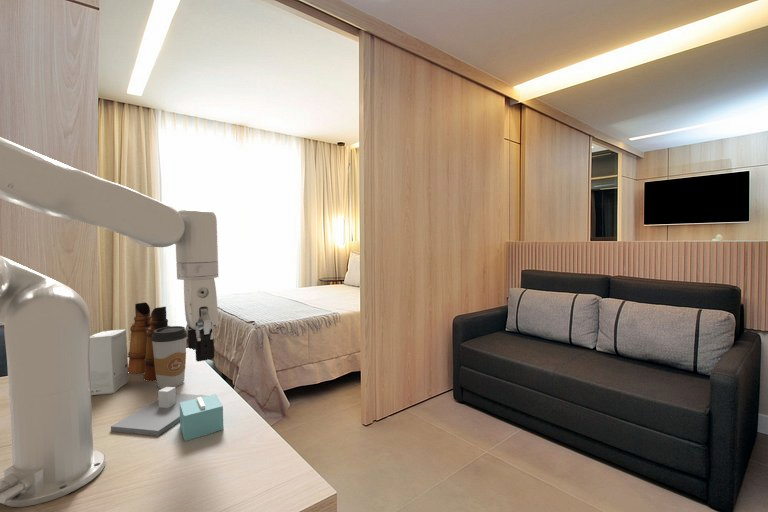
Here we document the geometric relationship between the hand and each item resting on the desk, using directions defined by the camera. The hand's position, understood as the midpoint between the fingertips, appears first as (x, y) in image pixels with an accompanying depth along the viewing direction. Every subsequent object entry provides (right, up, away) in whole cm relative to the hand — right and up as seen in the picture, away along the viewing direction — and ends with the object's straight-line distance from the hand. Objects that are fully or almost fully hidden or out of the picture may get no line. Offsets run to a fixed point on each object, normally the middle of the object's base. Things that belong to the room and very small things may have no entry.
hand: (200, 353), depth 73 cm
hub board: (-11, -15, +6) cm, 20 cm away
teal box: (0, -16, +1) cm, 16 cm away
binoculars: (-31, -15, +32) cm, 46 cm away
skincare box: (-35, -15, +20) cm, 43 cm away
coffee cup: (-20, -15, +23) cm, 34 cm away
